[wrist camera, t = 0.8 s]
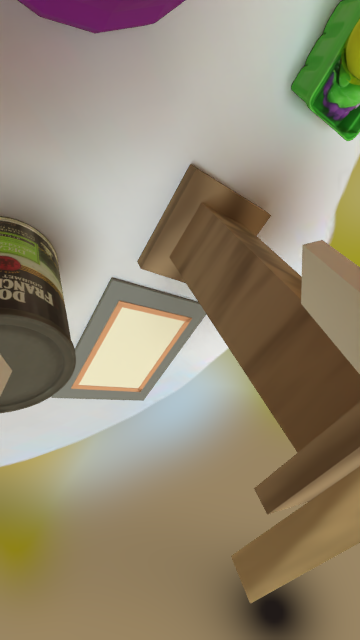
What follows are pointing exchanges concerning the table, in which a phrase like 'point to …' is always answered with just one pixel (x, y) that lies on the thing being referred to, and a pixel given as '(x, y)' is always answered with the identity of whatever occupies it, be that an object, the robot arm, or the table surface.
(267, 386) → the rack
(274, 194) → the table surface
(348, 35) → the fruit basket
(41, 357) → the coffee can
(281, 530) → the wooden handled hammer
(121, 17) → the decorative plant
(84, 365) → the pad
